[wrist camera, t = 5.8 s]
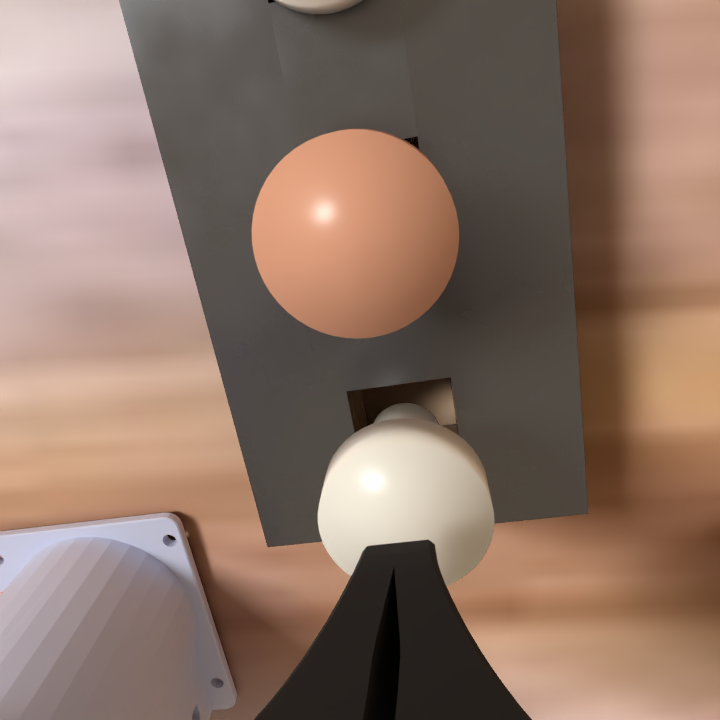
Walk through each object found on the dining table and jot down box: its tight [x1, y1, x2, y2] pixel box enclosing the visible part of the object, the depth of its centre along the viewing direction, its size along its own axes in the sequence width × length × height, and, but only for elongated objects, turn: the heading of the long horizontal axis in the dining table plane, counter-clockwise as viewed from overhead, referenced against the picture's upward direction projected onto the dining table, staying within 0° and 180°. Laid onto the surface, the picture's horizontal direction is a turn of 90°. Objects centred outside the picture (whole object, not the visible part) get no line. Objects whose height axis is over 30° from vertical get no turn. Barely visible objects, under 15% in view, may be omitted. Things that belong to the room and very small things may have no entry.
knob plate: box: [119, 0, 588, 547], centre depth 18 cm, size 20×10×3 cm, turn 10°
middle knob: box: [252, 128, 459, 339], centre depth 14 cm, size 4×4×4 cm
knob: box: [318, 403, 494, 586], centre depth 17 cm, size 4×4×4 cm
